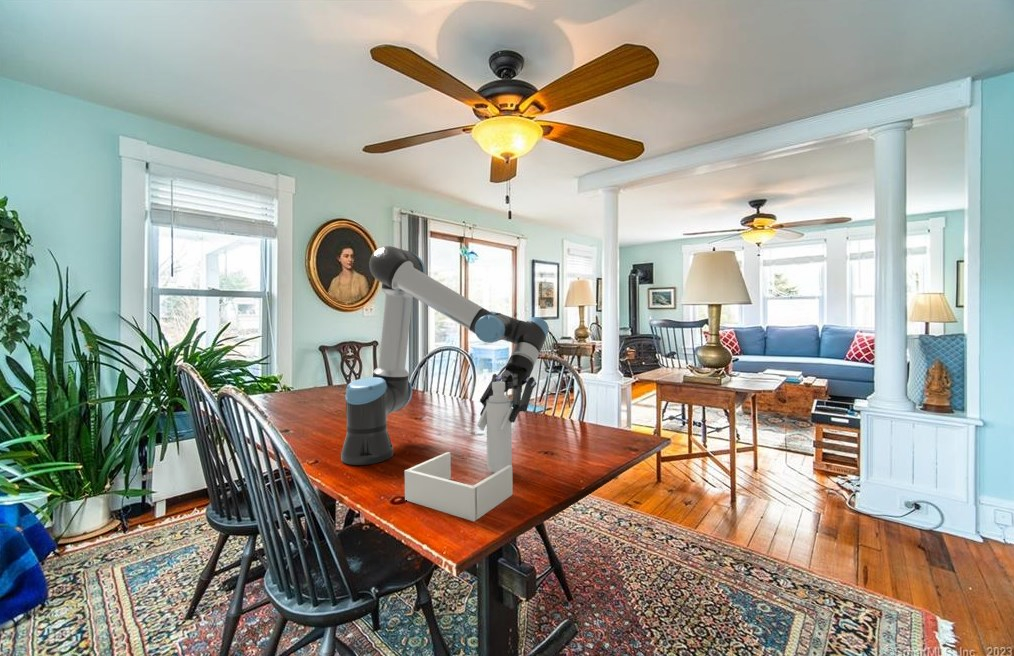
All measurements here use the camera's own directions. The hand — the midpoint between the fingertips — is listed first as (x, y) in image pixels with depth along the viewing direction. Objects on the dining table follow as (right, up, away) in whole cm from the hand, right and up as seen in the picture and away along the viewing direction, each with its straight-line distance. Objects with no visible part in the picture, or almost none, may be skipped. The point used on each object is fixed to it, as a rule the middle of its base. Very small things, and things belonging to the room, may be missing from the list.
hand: (491, 429), depth 112 cm
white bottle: (+2, -12, +3) cm, 12 cm away
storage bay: (-7, -13, -11) cm, 19 cm away
